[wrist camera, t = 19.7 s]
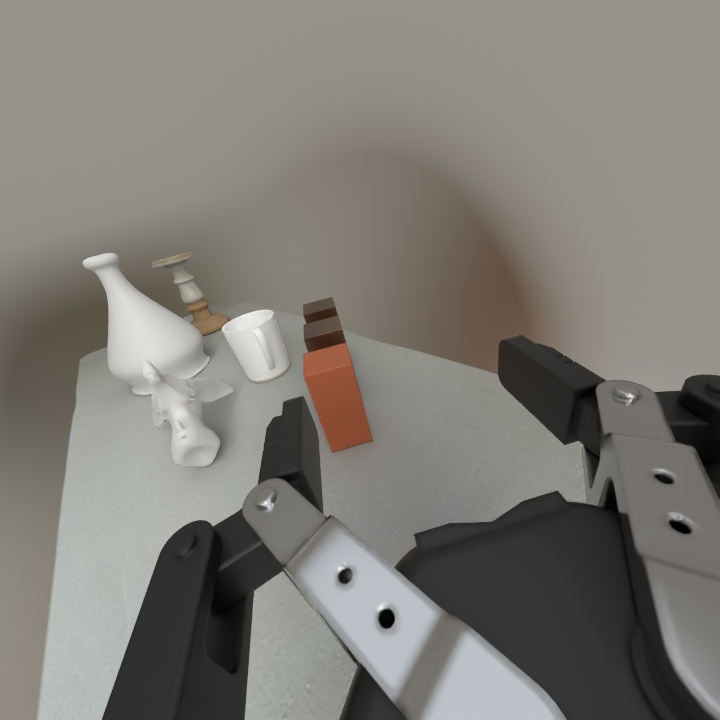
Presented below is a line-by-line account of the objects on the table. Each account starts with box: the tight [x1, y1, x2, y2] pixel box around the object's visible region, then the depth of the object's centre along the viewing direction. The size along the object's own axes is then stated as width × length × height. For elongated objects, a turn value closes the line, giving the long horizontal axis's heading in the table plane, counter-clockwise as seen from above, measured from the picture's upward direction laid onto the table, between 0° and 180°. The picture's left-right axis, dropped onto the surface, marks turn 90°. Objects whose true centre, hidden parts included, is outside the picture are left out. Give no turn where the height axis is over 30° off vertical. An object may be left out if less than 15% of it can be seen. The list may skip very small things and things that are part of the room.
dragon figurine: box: [142, 361, 235, 467], centre depth 38 cm, size 12×18×13 cm
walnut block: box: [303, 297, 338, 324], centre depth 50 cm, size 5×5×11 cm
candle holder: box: [151, 252, 229, 336], centre depth 81 cm, size 12×12×20 cm
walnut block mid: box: [304, 316, 346, 353], centre depth 42 cm, size 5×5×11 cm
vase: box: [83, 253, 209, 395], centre depth 58 cm, size 17×17×25 cm
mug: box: [222, 310, 290, 383], centre depth 52 cm, size 11×9×10 cm
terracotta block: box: [304, 343, 372, 452], centre depth 34 cm, size 5×5×11 cm
